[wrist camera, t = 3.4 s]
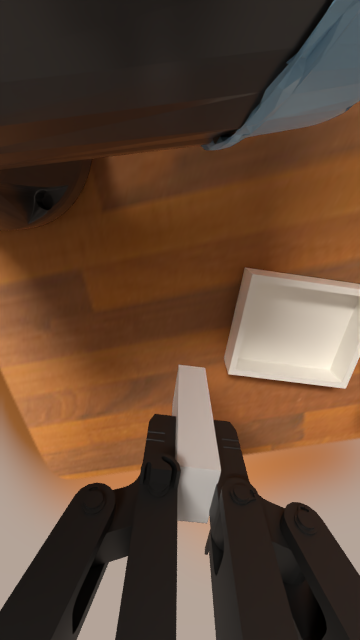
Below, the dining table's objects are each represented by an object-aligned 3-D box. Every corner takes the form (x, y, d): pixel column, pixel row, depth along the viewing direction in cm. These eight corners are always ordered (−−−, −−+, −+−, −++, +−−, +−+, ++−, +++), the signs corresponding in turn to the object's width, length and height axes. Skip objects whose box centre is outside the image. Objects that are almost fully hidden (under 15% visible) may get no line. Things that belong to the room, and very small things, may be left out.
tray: (223, 358, 29) (228, 374, 26) (244, 267, 25) (252, 274, 23) (330, 372, 30) (345, 388, 27) (365, 284, 26) (387, 293, 23)
